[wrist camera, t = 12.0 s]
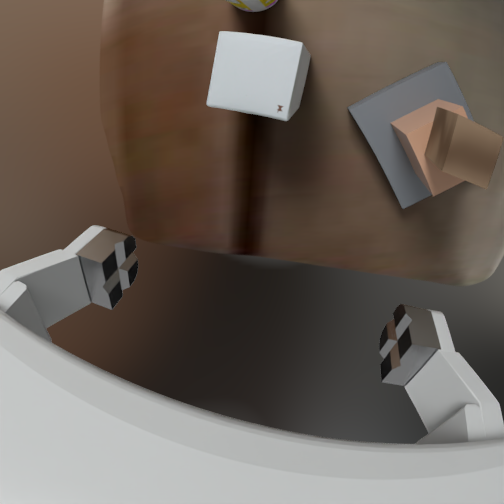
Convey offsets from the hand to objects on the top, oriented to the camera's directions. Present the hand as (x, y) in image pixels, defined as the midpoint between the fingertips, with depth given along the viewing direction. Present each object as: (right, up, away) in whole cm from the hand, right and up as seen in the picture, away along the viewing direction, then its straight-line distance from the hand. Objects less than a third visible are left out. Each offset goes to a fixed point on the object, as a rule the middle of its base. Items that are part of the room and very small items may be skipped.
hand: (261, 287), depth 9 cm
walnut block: (+19, +12, +13) cm, 26 cm away
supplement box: (+3, +22, +23) cm, 32 cm away
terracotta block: (+20, +14, +20) cm, 32 cm away
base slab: (+21, +16, +22) cm, 34 cm away
